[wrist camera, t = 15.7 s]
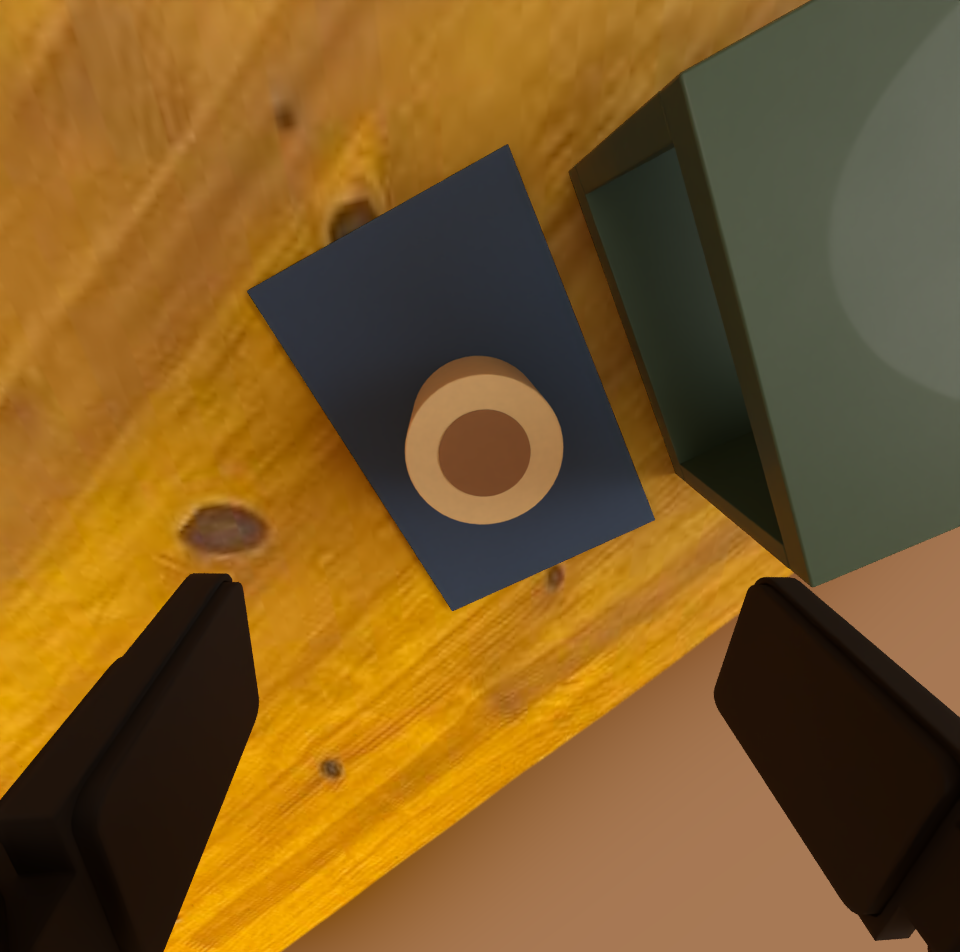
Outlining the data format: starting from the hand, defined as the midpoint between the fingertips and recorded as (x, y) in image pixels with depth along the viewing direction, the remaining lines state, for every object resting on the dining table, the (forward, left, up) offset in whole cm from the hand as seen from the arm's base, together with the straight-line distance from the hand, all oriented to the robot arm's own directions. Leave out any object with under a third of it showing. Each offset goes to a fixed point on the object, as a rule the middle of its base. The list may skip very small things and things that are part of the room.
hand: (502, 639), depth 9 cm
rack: (+15, -1, -17) cm, 23 cm away
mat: (0, -1, -17) cm, 17 cm away
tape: (0, -1, -17) cm, 17 cm away
